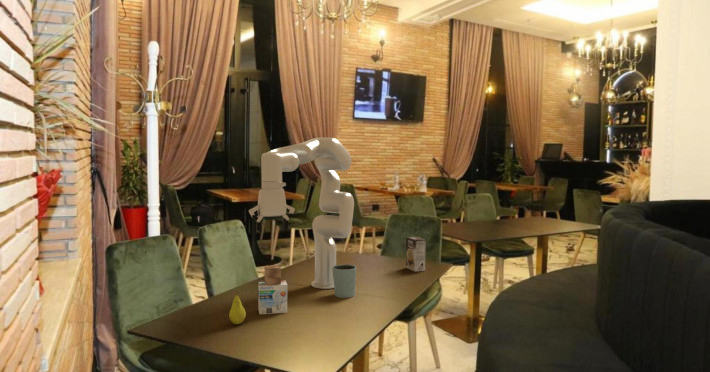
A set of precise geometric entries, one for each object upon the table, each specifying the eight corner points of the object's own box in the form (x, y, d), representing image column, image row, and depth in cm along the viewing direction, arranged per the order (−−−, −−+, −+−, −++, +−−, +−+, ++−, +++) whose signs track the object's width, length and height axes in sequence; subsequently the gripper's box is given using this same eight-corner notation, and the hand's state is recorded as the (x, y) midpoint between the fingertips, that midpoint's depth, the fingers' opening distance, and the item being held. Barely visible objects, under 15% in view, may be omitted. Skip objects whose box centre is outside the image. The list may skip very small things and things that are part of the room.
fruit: (238, 319, 184) (238, 287, 183) (249, 323, 180) (249, 289, 179) (225, 324, 179) (225, 290, 178) (236, 327, 176) (235, 293, 175)
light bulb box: (259, 315, 189) (259, 286, 189) (257, 309, 196) (257, 281, 195) (288, 312, 192) (288, 284, 191) (285, 307, 199) (285, 279, 198)
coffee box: (405, 267, 264) (405, 236, 263) (416, 266, 267) (416, 236, 266) (414, 271, 256) (415, 239, 255) (425, 270, 259) (426, 238, 258)
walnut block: (277, 280, 197) (277, 264, 196) (281, 284, 192) (280, 267, 191) (264, 282, 195) (264, 266, 194) (267, 285, 190) (267, 269, 189)
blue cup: (353, 299, 210) (353, 270, 209) (329, 297, 212) (329, 268, 211) (358, 292, 219) (358, 264, 219) (335, 290, 222) (335, 263, 221)
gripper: (291, 184, 198) (291, 228, 199) (246, 185, 191) (247, 231, 192) (297, 185, 191) (297, 231, 192) (251, 187, 184) (251, 234, 185)
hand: (272, 231), depth 192 cm, fingers open, 9 cm apart
